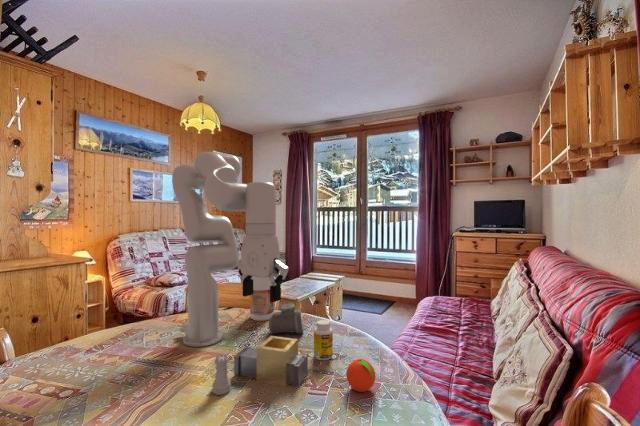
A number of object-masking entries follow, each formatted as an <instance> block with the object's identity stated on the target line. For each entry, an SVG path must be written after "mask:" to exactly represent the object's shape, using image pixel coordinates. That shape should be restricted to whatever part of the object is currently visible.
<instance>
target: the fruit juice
mask: <svg viewBox="0 0 640 426" xmlns="http://www.w3.org/2000/svg"><path fill="white" fill-rule="evenodd" d="M251 279H253V294H252V295H249V296H250V297H249V298H250V299H249V300H250V301H249V303H250V304H249V306H250V308H249V309H250V310H249V313H250V315H249V316H250V319H251V320H252V319H253V320H252V321H256V322H257V321H258V322H264V321H269V319H270V317H272V315H273V313H274V312H275V311H274V310H275V307H274V306H275V302H270V286H271V285H272V284H271V282H270V280H269V278H268V277H266V278H261V277H254V276H253V277H252V278H251Z"/></svg>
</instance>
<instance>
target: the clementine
mask: <svg viewBox="0 0 640 426" xmlns="http://www.w3.org/2000/svg"><path fill="white" fill-rule="evenodd" d="M374 368H375V367H373V365H372V364H371V363H370V361H367V360H366V359H361V358H358V359H355V360H352V362H350V364H349V365H348V366H347V369H346V380H347V383H348V385H349V386H350V388H352V389H353V390H355V391H357V392H360V393H361V392H362V393H363V392H367V391H370V389H371V388H372V387H373V386H374V385H375V382H376V371H375V369H374Z"/></svg>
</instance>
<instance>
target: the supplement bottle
mask: <svg viewBox="0 0 640 426" xmlns="http://www.w3.org/2000/svg"><path fill="white" fill-rule="evenodd" d="M332 328H333V327H331V321H330V320H328V319H327V320H326V319H320V320H318V321H316V327H315V328H314V329H313V356H314V358H315V359H316V360H319V361H328V360H330V359H332V357H333V351H334V350H333V349H334V347H333V343H334V342H333V341H334V340H333V339H334V337H333V336H334V335H333V331H334V330H333V329H332Z"/></svg>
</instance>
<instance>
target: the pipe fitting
mask: <svg viewBox="0 0 640 426" xmlns="http://www.w3.org/2000/svg"><path fill="white" fill-rule="evenodd" d="M295 305H296V304H295V303H293V302H287V303H284V304H281V306H280V310H279V311H274V313H273V315H272V317H270V319H269V320H268V329H269V332H270V333H271V335H274V334H275V335H276V334H281V333H288V332H289V333H290V332H294V333H296V334H304V317H303V315H302V310H301V308H299V309H296V306H295Z"/></svg>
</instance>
